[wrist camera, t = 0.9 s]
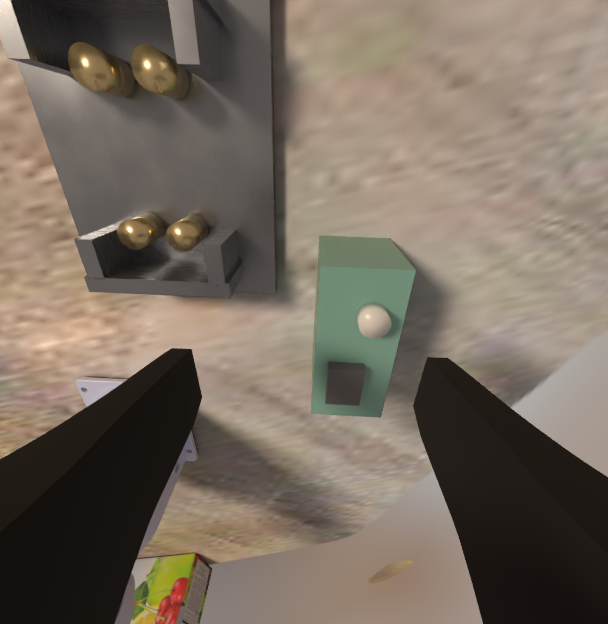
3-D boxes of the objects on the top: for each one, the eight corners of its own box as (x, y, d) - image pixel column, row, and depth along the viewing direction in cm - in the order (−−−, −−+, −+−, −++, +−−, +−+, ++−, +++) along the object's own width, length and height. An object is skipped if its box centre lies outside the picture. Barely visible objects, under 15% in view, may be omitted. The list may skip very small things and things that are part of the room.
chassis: (276, 289, 18) (268, 318, 15) (103, 282, 18) (61, 308, 15) (270, -39, 11) (253, -108, 8) (-9, -46, 11) (-128, -117, 8)
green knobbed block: (367, 361, 21) (383, 429, 16) (312, 358, 21) (311, 425, 16) (389, 237, 16) (421, 277, 11) (319, 234, 16) (320, 273, 11)
